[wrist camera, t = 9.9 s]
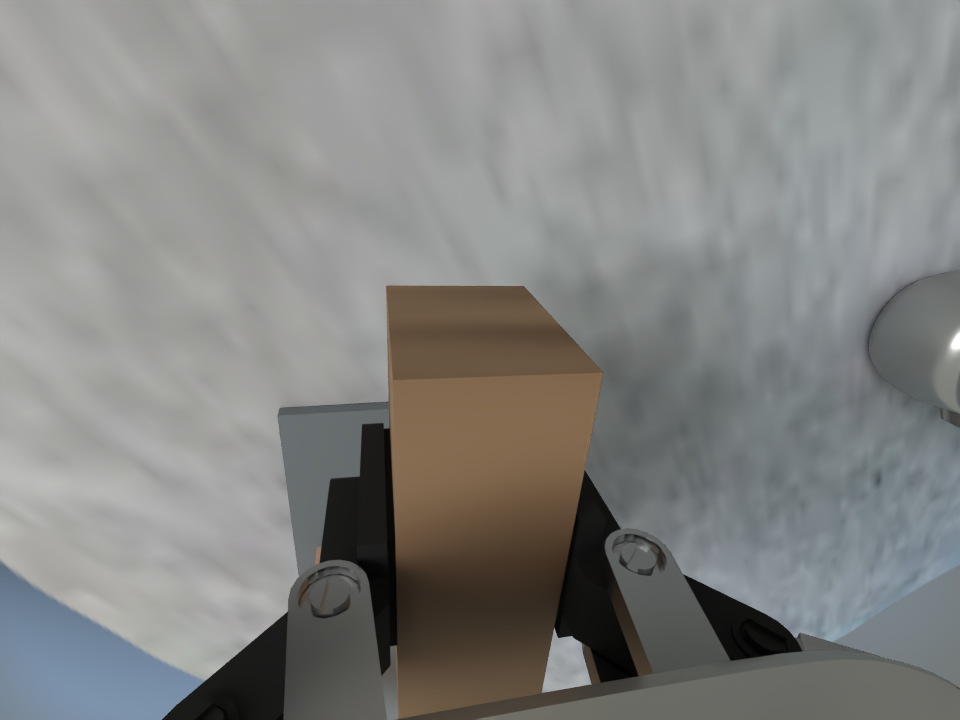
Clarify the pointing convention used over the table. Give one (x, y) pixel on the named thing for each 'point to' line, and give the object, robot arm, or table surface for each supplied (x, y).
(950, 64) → the table surface
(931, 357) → the silver bottle
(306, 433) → the mat
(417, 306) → the tall brown block
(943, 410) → the ribbed tin
